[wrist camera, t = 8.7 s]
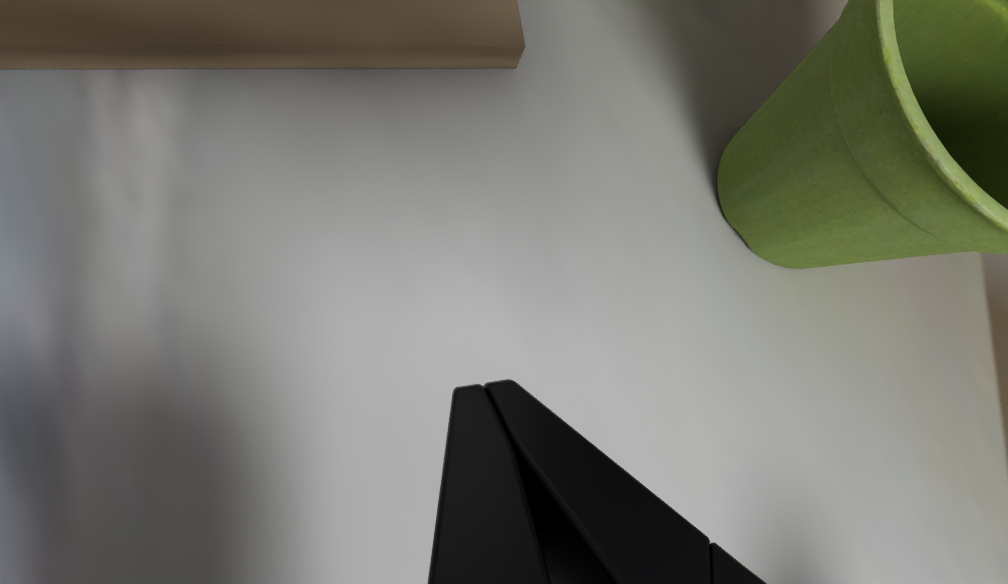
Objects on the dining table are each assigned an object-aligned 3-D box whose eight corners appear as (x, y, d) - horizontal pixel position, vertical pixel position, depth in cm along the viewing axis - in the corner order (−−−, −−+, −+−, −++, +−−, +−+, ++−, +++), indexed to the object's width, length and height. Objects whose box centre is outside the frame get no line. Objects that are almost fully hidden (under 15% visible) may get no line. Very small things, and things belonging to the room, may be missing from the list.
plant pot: (627, 109, 26) (815, -104, 16) (824, 64, 30) (1088, -136, 19) (727, 359, 25) (1010, 314, 14) (922, 281, 28) (1266, 197, 18)
